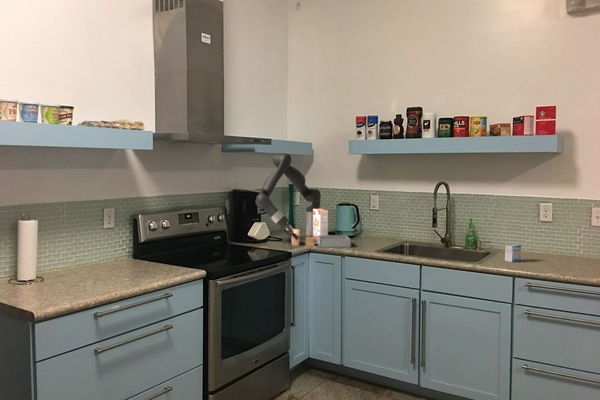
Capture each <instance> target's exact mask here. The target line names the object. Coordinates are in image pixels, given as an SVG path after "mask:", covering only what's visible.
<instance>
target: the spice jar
mask: <svg viewBox="0 0 600 400" xmlns="http://www.w3.org/2000/svg"><path fill="white" fill-rule="evenodd" d="M293 231H294V232H295V234H296V235H297V236H298V237H299V239H298V240H296V239H295V238H294V237H293V236H291V246H294V247H297V246H298V247H299V246H300V236H301V234H300V228H294V229H293Z"/></svg>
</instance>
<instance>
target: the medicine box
mask: <svg viewBox="0 0 600 400" xmlns="http://www.w3.org/2000/svg"><path fill="white" fill-rule="evenodd" d="M504 249H505V251H504V252H505V253H504V261H505V262H508V263H509V262H510V263H516V262H520V261H521V260H522V245H521V244H517V243H516V244H515V243H514V244H507V245H505V248H504Z"/></svg>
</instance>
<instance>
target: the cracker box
mask: <svg viewBox="0 0 600 400" xmlns="http://www.w3.org/2000/svg"><path fill="white" fill-rule="evenodd" d="M324 235H329V211H328V210H327V209H323V208H319V209H313V236H312V237H314V241H317V236H324Z"/></svg>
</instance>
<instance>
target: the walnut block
mask: <svg viewBox="0 0 600 400" xmlns="http://www.w3.org/2000/svg"><path fill="white" fill-rule="evenodd" d="M305 246H306V247H314V246H315V239H314V237H313V236H305Z"/></svg>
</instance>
